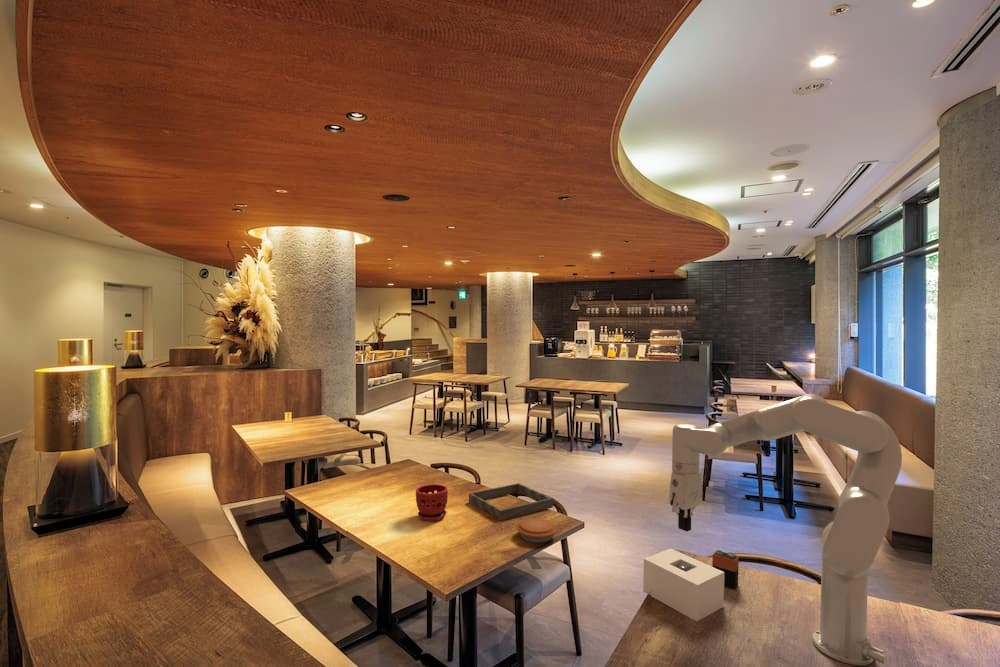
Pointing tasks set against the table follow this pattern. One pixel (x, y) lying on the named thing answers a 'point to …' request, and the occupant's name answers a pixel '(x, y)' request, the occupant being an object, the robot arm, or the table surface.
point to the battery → (727, 567)
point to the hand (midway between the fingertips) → (684, 529)
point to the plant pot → (431, 502)
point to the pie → (536, 530)
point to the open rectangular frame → (540, 504)
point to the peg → (683, 567)
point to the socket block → (684, 584)
